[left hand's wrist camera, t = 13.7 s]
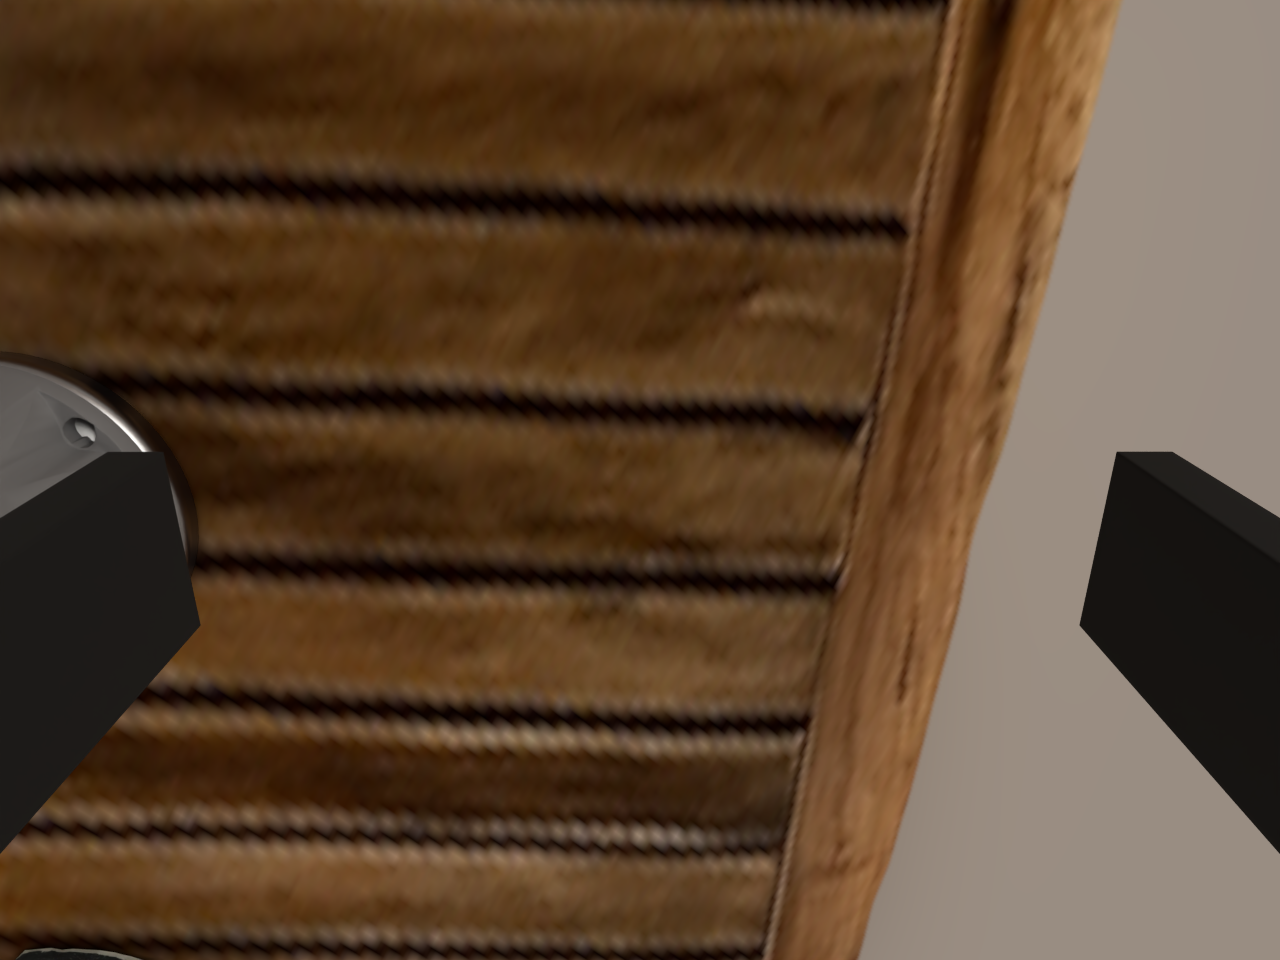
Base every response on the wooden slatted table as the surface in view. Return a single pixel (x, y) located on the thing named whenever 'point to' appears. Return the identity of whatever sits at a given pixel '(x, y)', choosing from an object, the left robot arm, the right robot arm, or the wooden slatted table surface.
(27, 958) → the fossil
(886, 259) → the wooden slatted table surface
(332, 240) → the wooden slatted table surface
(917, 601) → the wooden slatted table surface
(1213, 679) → the left robot arm
